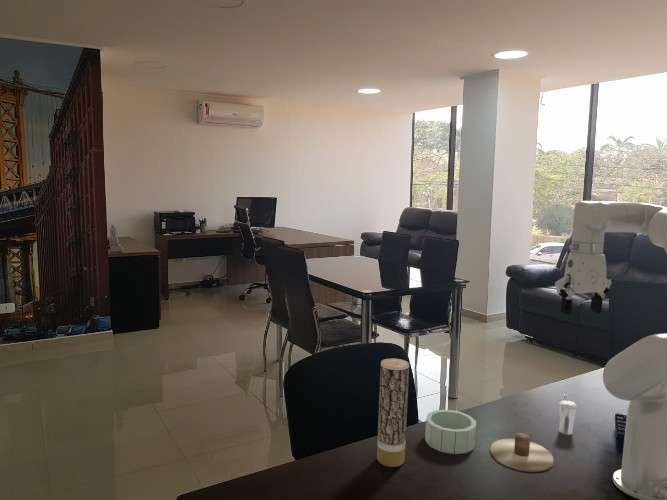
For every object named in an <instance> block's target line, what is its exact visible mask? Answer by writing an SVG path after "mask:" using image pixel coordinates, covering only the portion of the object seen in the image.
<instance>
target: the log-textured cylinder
mask: <svg viewBox="0 0 667 500" xmlns="http://www.w3.org/2000/svg"><path fill="white" fill-rule="evenodd" d="M409 375H410V363H409V362H408V361H406V360H404V359H399V358H385V359H382V360H381V361H380V374H379V376H380V377H379V394H378V395H379V397H378V398H379V399H378V419H377V420H378V421H377V425H378V426H377V442H376V444H377V445H376V446H377V447H376V449H377V450H376V459H377V462H378V463H379V464H380V465H382V466H384V467H386V468H387V467H388V468H396V467H397V468H398V467H400V466H402V465H403V464H404V462H405V460H406V458H405V457H406V438H407V422H408V421H407V418H408V417H407V416H408V400H409V399H408V398H409V396H408V395H409V377H410V376H409Z"/></svg>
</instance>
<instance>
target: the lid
mask: <svg viewBox="0 0 667 500" xmlns="http://www.w3.org/2000/svg"><path fill="white" fill-rule="evenodd" d="M490 455H491V456H492V457H493V458H494V460H496V462H498V463H500V464H502V465H503V466H506V467H508V468H511V469H513V470H517V471H521V472H527V473H529V472H530V473H538V472H539V473H540V472H544V471H548V470H549V469H551V468H552V467H553V465H554V456H553V454H552V453H551V452H550V450H549V449H547V448H545V447H544V446H542V445H540V444H538V443H536V442H533V441H531V436H530V434H527V433H523V432H518V433H515V436H514V438H503V439H502V438H501V439H498V440H495V441H494V442H493V443H492V444H491V445H490Z"/></svg>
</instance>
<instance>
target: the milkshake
mask: <svg viewBox="0 0 667 500" xmlns="http://www.w3.org/2000/svg"><path fill="white" fill-rule="evenodd" d="M566 397H567V396H566V394H565V393H564V394H563V400H561V401H560V402H559V403H558V422H559V423H558V431H559V433H560V434H562V435H565V436H571V435H572V434H573V431H574V430H573V429H574V423H575V418H576V413H577V408H578V406H577V404H576V403H575V402H574V401H571V400H567V398H566Z"/></svg>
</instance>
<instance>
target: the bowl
mask: <svg viewBox="0 0 667 500" xmlns="http://www.w3.org/2000/svg"><path fill="white" fill-rule="evenodd" d="M476 429H477V421H476V420H475V418H473V417H472V416H471V415H469V414H466V413H464V412H461V411H459V410H452V409H451V410H450V409H439V410H438V409H437V410H433V411H430V412H429V413H427V415H426V418H425V430H424V441H425V443H426V444H427V445H428V446H429V447H430V448H432V449H434V450H435V451H438V452H441V453H446V454H452V455H459V454H468V453H469V452H471V451H473V450H474V449H475V447H476V446H475V445H476V443H475V442H476Z"/></svg>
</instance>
